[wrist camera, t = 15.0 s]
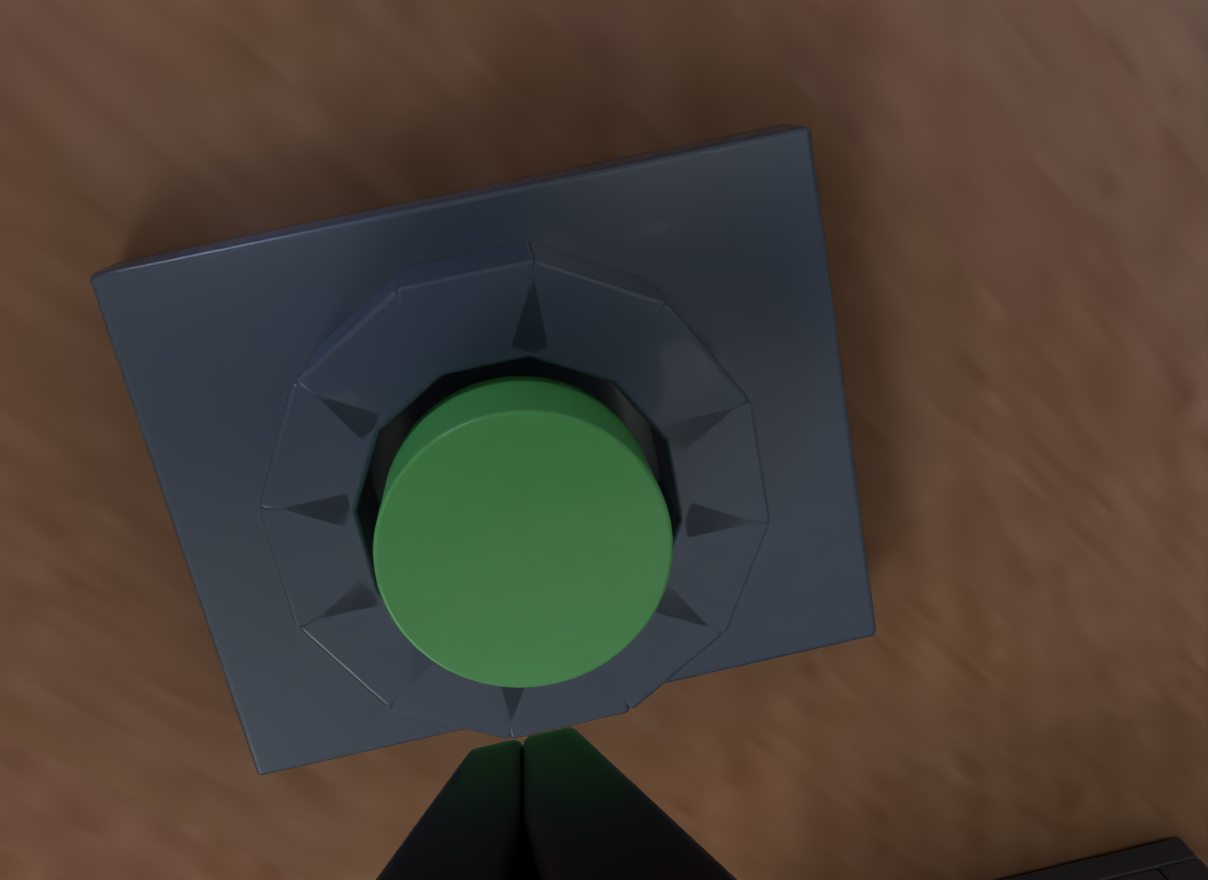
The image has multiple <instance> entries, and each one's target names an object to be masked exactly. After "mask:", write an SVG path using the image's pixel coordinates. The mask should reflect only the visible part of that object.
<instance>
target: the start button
mask: <svg viewBox="0 0 1208 880" xmlns="http://www.w3.org/2000/svg"><path fill="white" fill-rule="evenodd" d="M672 558H673V535H672V526H671V520H670V516H669V512H668V508H667V504H666V502H665V499H664V497H663V495H662V492H661V490H660V487H659V485H658V483H657V481H656V479H655V476H654V474H653V472H652V470H651V468H650V466H649V463H648V461H647V459H646V457H645V455H644V452H643V450H642V448H641V446H640V444H639V443H638V441H637V439H636V438H635V436H634V434H633V433H632V431H631V430H630V429H629V427H628V426H627V425H626V424H625V422H624V421H623V420H622V419H621V418H620V417H619V416H618V415H617V414H616V413H615V412H614V411H613V410H612V409H611V408H610V407H609V406H607V405H606V404H605V403H603V402H602V401H600V400H599V399H598V398H596V397H595V396H593V395H591V394H589V393H588V392H586V391H584V390H582V389H580V388H578V387H575V386H573V385H570V384H567V383H565V382H562V381H557V380H553V379H549V378H544V377H535V376H506V377H499V378H492V379H488V380H485V381H481V382H477V383H474V384H471V385H469V386H467V387H464V388H462V389H460V390H457V391H455V392H454V393H452V394H450V395H449V396H447V397H445V398H443V399H442V400H440V401H439V402H438V403H436V404H435V405H434V406H433V407H431V408H430V409H429V410H427V411H426V412H425V413H424V414H423V415H422V416H421V417H420V418H419V419H418V421H417V422H416V423H415V424H414V425H413V426H412V428H411V429H410V430H409V432H408V433H407V434H406V436H405V437H404V438H403V440H402V442H401V444H400V446H399V448H398V449H397V451H396V453H395V456H394V458H393V461H392V463H391V466H390V469H389V472H388V477H387V481H386V485H385V489H384V493H383V497H382V501H381V505H380V509H379V513H378V518H377V522H376V526H375V531H374V542H373V561H374V571H375V576H376V581H377V586H378V589H379V591H380V594H381V597H382V600H383V602H384V605H385V607H386V608H387V610H388V612H389V614H390V616H391V618H392V620H393V621H394V623H395V624H396V625H397V627H398V628H399V629H400V631H401V632H402V634H403V635H404V636H405V637H406V638H407V639H408V640H409V641H410V642H411V643H412V644H413V645H414V646H415V648H417V649H418V650H419V651H420V652H422V653H423V654H424V655H425V656H426V657H428V658H429V659H430V660H432V661H433V662H435V663H436V664H438V665H440V666H441V667H443V668H445V669H446V670H448V671H451V672H453V673H455V674H457V675H459V676H461V677H464V678H467V679H470V680H473V681H477V682H480V683H484V684H489V685H495V686H501V687H516V688H522V687H538V686H544V685H550V684H556V683H560V682H563V681H566V680H570V679H573V678H576V677H578V676H581V675H583V674H585V673H588V672H590V671H592V670H594V669H595V668H597V667H599V666H601V665H603V664H604V663H606V662H608V661H609V660H610V659H612V658H613V657H614V656H616V655H617V654H618V653H620V652H621V651H622V650H623V649H624V648H626V647H627V646H628V645H629V644H630V643H631V642H632V641H633V640H634V639H635V638H636V637H637V635H638V634H639V633H640V632H641V631H642V629H643V628H644V627H645V626H646V625H647V623H648V622H649V620H650V618H651V617H652V615H653V614H654V612H655V610H656V609H657V607H658V605H659V603H660V600H661V598H662V596H663V594H664V592H665V588H666V585H667V582H668V579H669V575H670V570H671V564H672Z"/></svg>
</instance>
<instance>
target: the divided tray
mask: <svg viewBox="0 0 1208 880" xmlns="http://www.w3.org/2000/svg"><path fill="white" fill-rule="evenodd" d="M1004 880H1208V868H1207V867H1206V866H1205V864H1204V863H1203V862H1202V861H1201V860H1200V859H1197V856H1196V855H1195V854H1194V853H1193V852H1192V851H1191V850H1190V849H1189V848H1188V847H1187V845H1186V844H1185V843H1184V842H1183V841H1182V840H1181V839H1179V838H1175V839H1171V840H1167V841H1163V842H1158V843H1154V844H1150V845H1146V846H1142V847H1138V848H1133V849H1129V850H1125V851H1121V852H1117V853H1112V854H1108V855H1104V856H1100V857H1096V858H1091V859H1087V860H1083V861H1079V862H1075V863H1071V864H1066V865H1062V866H1058V867H1054V868H1050V869H1045V870H1041V871H1037V872H1033V873H1029V874H1025V875H1020V876H1016V877H1012V878H1008V879H1004Z"/></svg>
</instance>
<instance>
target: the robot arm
mask: <svg viewBox="0 0 1208 880" xmlns="http://www.w3.org/2000/svg"><path fill="white" fill-rule="evenodd" d="M376 880H737V879H736V878H735V877H734V876H733V875H731V874H730V873H729V872H728V871H727V870H726V869H725V868H724V867H723V866H722V865H721V864H720V863H719V862H717V861H716V860H715V859H714V858H713V857H712V856H711V855H710V854H709V853H708V852H707V851H706V850H705V849H703V848H702V847H701V846H700V845H699V844H698V843H697V842H696V841H695V840H694V839H693V838H692V837H691V836H689V835H688V834H687V833H686V832H685V831H684V830H683V829H682V828H681V827H680V826H679V825H678V824H677V823H675V822H674V821H673V820H672V819H671V818H670V817H669V816H668V815H667V814H666V813H665V812H664V811H663V810H661V809H660V808H659V807H658V806H657V805H656V804H655V803H654V802H653V801H652V800H651V799H650V798H649V797H647V796H646V795H645V794H644V793H643V792H642V791H641V790H640V789H639V788H638V787H637V786H636V785H635V784H633V783H632V782H631V781H630V780H629V779H628V778H627V777H626V776H625V775H624V774H623V773H622V772H621V771H619V770H618V769H617V768H616V767H615V766H614V765H613V764H612V763H611V762H610V761H609V760H608V759H607V758H605V757H604V756H603V755H602V754H601V753H600V752H599V751H598V750H597V749H596V748H595V747H594V746H593V745H591V744H590V743H589V742H588V741H587V740H586V739H585V738H584V737H583V736H582V735H581V734H580V733H579V732H577V731H576V730H575V729H573V728H570V727H568V728H562V729H558V730H553V731H549V732H545V733H540V734H536V735H532V736H529V737H528V738H527V739H526V740H525V741H524V744H523V745H522V744H521V743H520V742H519V741H516V740H510V741H506V742H501V743H497V744H493V745H488V746H484V747H480V748H476V749H473V750H472V751H470V752H469V753H468V755H467V756H466V757H465V758H464V760H463V761H462V763H461V764H460V765H459V767H458V768H457V769H456V771H455V772H454V773H453V775H452V776H451V778H450V779H449V780H448V782H447V783H446V784H445V786H444V787H443V789H442V790H441V791H440V793H439V794H438V795H437V797H436V798H435V799H434V801H433V802H432V804H431V805H430V806H429V808H428V809H427V810H426V812H425V813H424V815H423V816H422V817H421V819H420V820H419V821H418V823H417V824H416V825H415V827H414V828H413V830H412V831H411V832H410V834H409V835H408V836H407V838H406V839H405V841H404V842H403V843H402V845H401V846H400V847H399V849H398V850H397V851H396V853H395V854H394V856H393V857H392V858H391V860H390V861H389V862H388V864H387V865H386V867H385V868H384V869H383V871H382V872H381V873H380V875H379V876H378V877H377V879H376Z"/></svg>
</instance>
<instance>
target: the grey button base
mask: <svg viewBox="0 0 1208 880" xmlns="http://www.w3.org/2000/svg"><path fill="white" fill-rule="evenodd" d="M91 284H92V286H93V289H94V292H95V295H96V298H97V301H98V304H99V307H100V310H101V313H102V316H103V319H104V322H105V325H106V328H107V331H108V334H109V337H110V340H111V342H112V345H113V348H114V351H115V354H116V357H117V360H118V363H119V366H120V369H121V372H122V375H123V378H124V381H125V384H126V387H127V390H128V393H129V396H130V399H131V401H132V404H133V407H134V410H135V413H136V416H137V419H138V422H139V425H140V428H141V431H142V434H143V437H144V440H145V443H146V446H147V449H148V452H149V455H150V458H151V460H152V463H153V466H154V469H155V472H156V475H157V478H158V481H159V484H160V487H161V490H162V493H163V496H164V499H165V502H166V505H167V508H168V511H169V514H170V516H171V519H172V522H173V525H174V528H175V531H176V534H177V537H178V540H179V543H180V546H181V549H182V552H183V555H184V558H185V561H186V564H187V567H188V570H189V573H190V575H191V578H192V581H193V584H194V587H195V590H196V593H197V596H198V599H199V602H200V605H201V608H202V611H203V614H204V617H205V620H206V623H207V626H208V629H209V632H210V634H211V637H212V640H213V643H214V646H215V649H216V652H217V655H218V658H219V661H220V664H221V667H222V670H223V673H224V676H225V679H226V682H227V685H228V688H229V690H230V693H231V696H232V699H233V702H234V705H235V708H236V711H237V714H238V717H239V720H240V723H241V726H242V729H243V732H244V735H245V738H246V741H247V744H248V747H249V749H250V752H251V755H252V758H253V761H254V764H255V767H256V770H257V772H258V773H259V774H260V775H264V774H269V773H273V772H277V771H282V770H286V769H290V768H295V767H299V766H304V765H308V764H312V763H317V762H321V761H326V760H330V759H334V758H339V757H343V756H347V755H352V754H356V753H361V752H365V751H369V750H374V749H378V748H382V747H387V746H391V745H396V744H400V743H404V742H409V741H413V740H418V739H422V738H426V737H431V736H435V735H439V734H444V733H448V732H453V731H457V730H461V729H469V730H473V731H477V732H481V733H486V734H490V735H494V736H498V737H502V738H509V737H510V736H511V738H517V737H521V736H526V735H530V734H535V733H539V732H543V731H548V730H552V729H556V728H561V727H565V726H570V725H574V724H578V723H583V722H587V721H591V720H596V719H600V718H604V717H609V716H613V715H618V714H622V713H626V712H628V711H629V708H634V707H636V706H637V705H638V704H639V703H641V702H642V701H643V700H644V699H645V698H647V697H648V696H649V695H650V694H652V693H653V692H654V691H655V690H656V689H658V688H659V687H660V686H661V685H662V684H664V683H667V682H672V681H676V680H680V679H685V678H689V677H694V676H698V675H702V674H707V673H711V672H715V671H720V670H724V669H729V668H733V667H737V666H742V665H746V664H751V663H755V662H759V661H764V660H768V659H772V658H777V657H781V656H786V655H790V654H794V653H799V652H803V651H808V650H812V649H816V648H821V647H825V646H829V645H834V644H838V643H843V642H847V641H851V640H856V639H860V638H864V637H869V636H873V635H874V634H875V632H876V626H875V618H874V611H873V603H872V595H871V588H870V580H869V573H868V565H867V557H866V550H865V542H864V534H863V527H862V519H861V512H860V504H859V496H858V489H857V481H856V474H855V466H854V458H853V451H852V443H851V435H850V428H849V420H848V413H847V405H846V397H845V390H844V382H843V374H842V367H841V359H840V352H839V344H838V336H837V329H836V321H835V314H834V306H833V298H832V291H831V283H830V275H829V268H828V260H827V253H826V245H825V237H824V230H823V222H822V214H821V207H820V199H819V192H818V184H817V176H816V169H815V161H814V154H813V146H812V138H811V131H810V129H809V128H808V127H806V126H799V125H788V124H782V125H778V126H773V127H768V128H763V129H758V130H753V131H749V132H744V133H739V134H734V135H729V136H725V137H720V138H715V139H710V140H705V141H700V142H696V143H691V144H686V145H681V146H676V147H672V148H667V149H662V150H657V151H652V152H647V153H643V154H638V155H633V156H628V157H623V158H619V159H614V160H609V161H604V162H599V163H594V164H590V165H585V166H580V167H575V168H570V169H565V170H561V171H556V172H551V173H546V174H541V175H537V176H532V177H527V178H522V179H517V180H512V181H508V182H503V183H498V184H493V185H488V186H484V187H479V188H474V189H469V190H464V191H459V192H455V193H450V194H445V195H440V196H435V197H431V198H426V199H421V200H416V201H411V202H406V203H402V204H397V205H392V206H387V207H382V208H377V209H373V210H368V211H363V212H358V213H353V214H349V215H344V216H339V217H334V218H329V219H324V220H320V221H315V222H310V223H305V224H300V225H296V226H291V227H286V228H281V229H276V230H271V231H267V232H262V233H257V234H252V235H247V236H243V237H238V238H233V239H228V240H223V241H218V242H214V243H209V244H204V245H199V246H194V247H189V248H185V249H180V250H175V251H170V252H165V253H161V254H156V255H151V256H146V257H141V258H136V259H132V260H127V261H122V262H118V263H116V264H114V265H111V266H109V267H107V268H105V269H103V270H100V271H98V272H96V273H94V274H93V275H92V276H91ZM506 376H535V377H544V378H549V379H553V380H557V381H562V382H565V383H567V384H570V385H573V386H575V387H578V388H580V389H582V390H584V391H586V392H588V393H589V394H591V395H593V396H595V397H596V398H598V399H599V400H600V401H602V402H603V403H605V404H606V405H607V406H609V407H610V408H611V409H612V410H613V411H614V412H615V413H616V414H617V415H618V416H619V417H620V418H621V419H622V420H623V421H624V422H625V424H626V425H627V426H628V427H629V429H630V430H631V431H632V433H633V434H634V436H635V438H636V439H637V441H638V443H639V444H640V446H641V448H642V450H643V452H644V455H645V457H646V459H647V461H648V463H649V466H650V468H651V470H652V472H653V474H654V476H655V479H656V481H657V483H658V485H659V487H660V490H661V492H662V495H663V497H664V499H665V502H666V504H667V508H668V512H669V516H670V520H671V526H672V535H673V558H672V564H671V570H670V575H669V579H668V582H667V585H666V588H665V592H664V594H663V596H662V598H661V600H660V603H659V605H658V607H657V609H656V610H655V612H654V614H653V615H652V617H651V618H650V620H649V622H648V623H647V625H646V626H645V627H644V628H643V629H642V631H641V632H640V633H639V634H638V635H637V637H636V638H635V639H634V640H633V641H632V642H631V643H630V644H629V645H628V646H627V647H626V648H624V649H623V650H622V651H621V652H620V653H618V654H617V655H616V656H614V657H613V658H612V659H610V660H609V661H608V662H606V663H604V664H603V665H601V666H599V667H597V668H595V669H594V670H592V671H590V672H588V673H585V674H583V675H581V676H578V677H576V678H573V679H570V680H566V681H563V682H560V683H556V684H550V685H544V686H538V687H522V688H516V687H501V686H495V685H489V684H484V683H480V682H477V681H473V680H470V679H467V678H464V677H461V676H459V675H457V674H455V673H453V672H451V671H448V670H446V669H445V668H443V667H441V666H440V665H438V664H436V663H435V662H433V661H432V660H430V659H429V658H428V657H426V656H425V655H424V654H423V653H422V652H420V651H419V650H418V649H417V648H415V646H414V645H413V644H412V643H411V642H410V641H409V640H408V639H407V638H406V637H405V636H404V635H403V634H402V632H401V631H400V629H399V628H398V627H397V625H396V624H395V623H394V621H393V620H392V618H391V616H390V614H389V612H388V610H387V608H386V607H385V605H384V602H383V600H382V597H381V594H380V591H379V589H378V586H377V581H376V576H375V571H374V561H373V542H374V531H375V526H376V522H377V518H378V513H379V509H380V505H381V501H382V497H383V493H384V489H385V485H386V481H387V477H388V472H389V469H390V466H391V463H392V461H393V458H394V456H395V453H396V451H397V449H398V448H399V446H400V444H401V442H402V440H403V438H404V437H405V436H406V434H407V433H408V432H409V430H410V429H411V428H412V426H413V425H414V424H415V423H416V422H417V421H418V419H419V418H420V417H421V416H422V415H423V414H424V413H425V412H426V411H427V410H429V409H430V408H431V407H433V406H434V405H435V404H436V403H438V402H439V401H440V400H442V399H443V398H445V397H447V396H449V395H450V394H452V393H454V392H455V391H457V390H460V389H462V388H464V387H467V386H469V385H471V384H474V383H477V382H481V381H485V380H488V379H492V378H499V377H506Z"/></svg>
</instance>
